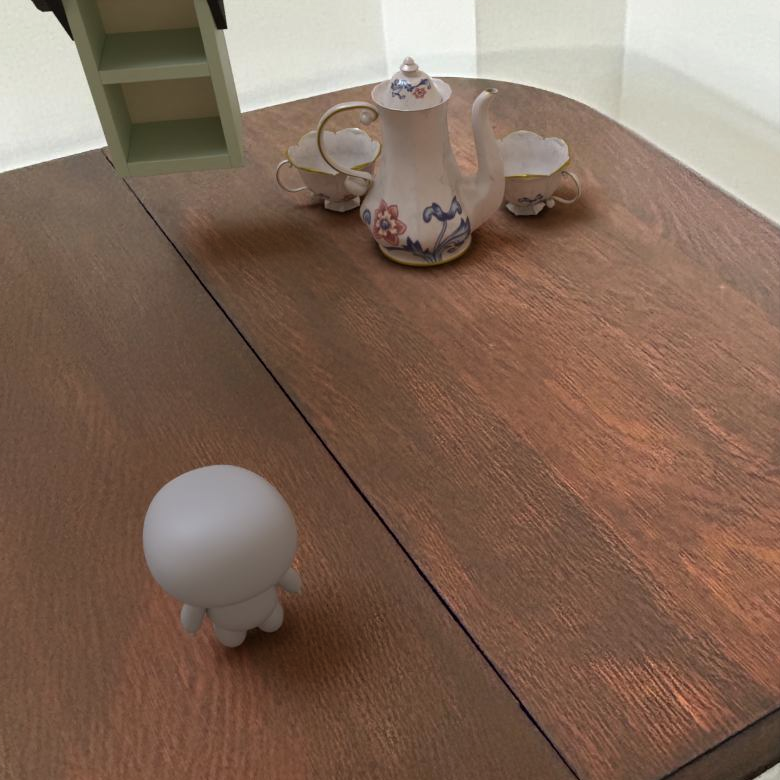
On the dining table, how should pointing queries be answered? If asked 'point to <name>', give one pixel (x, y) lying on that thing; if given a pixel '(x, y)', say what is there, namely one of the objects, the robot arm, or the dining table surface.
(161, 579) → the figurine
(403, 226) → the chinaware
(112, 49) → the shelf
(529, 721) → the dining table surface
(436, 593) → the dining table surface
